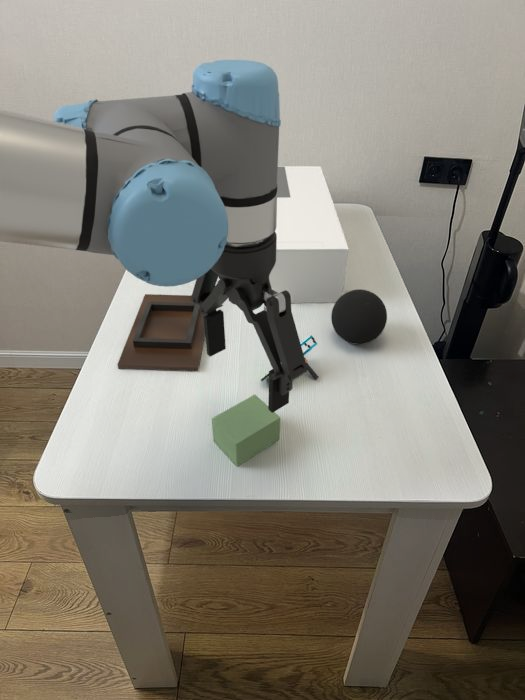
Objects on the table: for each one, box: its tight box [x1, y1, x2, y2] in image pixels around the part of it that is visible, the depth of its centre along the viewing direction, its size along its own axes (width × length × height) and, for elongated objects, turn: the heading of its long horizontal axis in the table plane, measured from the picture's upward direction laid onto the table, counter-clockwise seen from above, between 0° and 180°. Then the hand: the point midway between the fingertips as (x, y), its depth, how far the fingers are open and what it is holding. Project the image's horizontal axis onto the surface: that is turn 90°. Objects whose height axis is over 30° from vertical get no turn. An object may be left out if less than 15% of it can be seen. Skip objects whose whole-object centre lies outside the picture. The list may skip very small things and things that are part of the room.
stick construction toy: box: [260, 335, 319, 382], centre depth 83 cm, size 12×7×8 cm
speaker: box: [330, 289, 388, 345], centre depth 89 cm, size 10×10×10 cm
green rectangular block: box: [211, 394, 281, 467], centre depth 72 cm, size 8×6×5 cm
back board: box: [117, 293, 206, 372], centre depth 93 cm, size 22×14×2 cm, turn 178°
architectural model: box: [269, 165, 350, 304], centre depth 115 cm, size 45×21×12 cm, turn 2°
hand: (245, 377), depth 65 cm, fingers open, 13 cm apart
